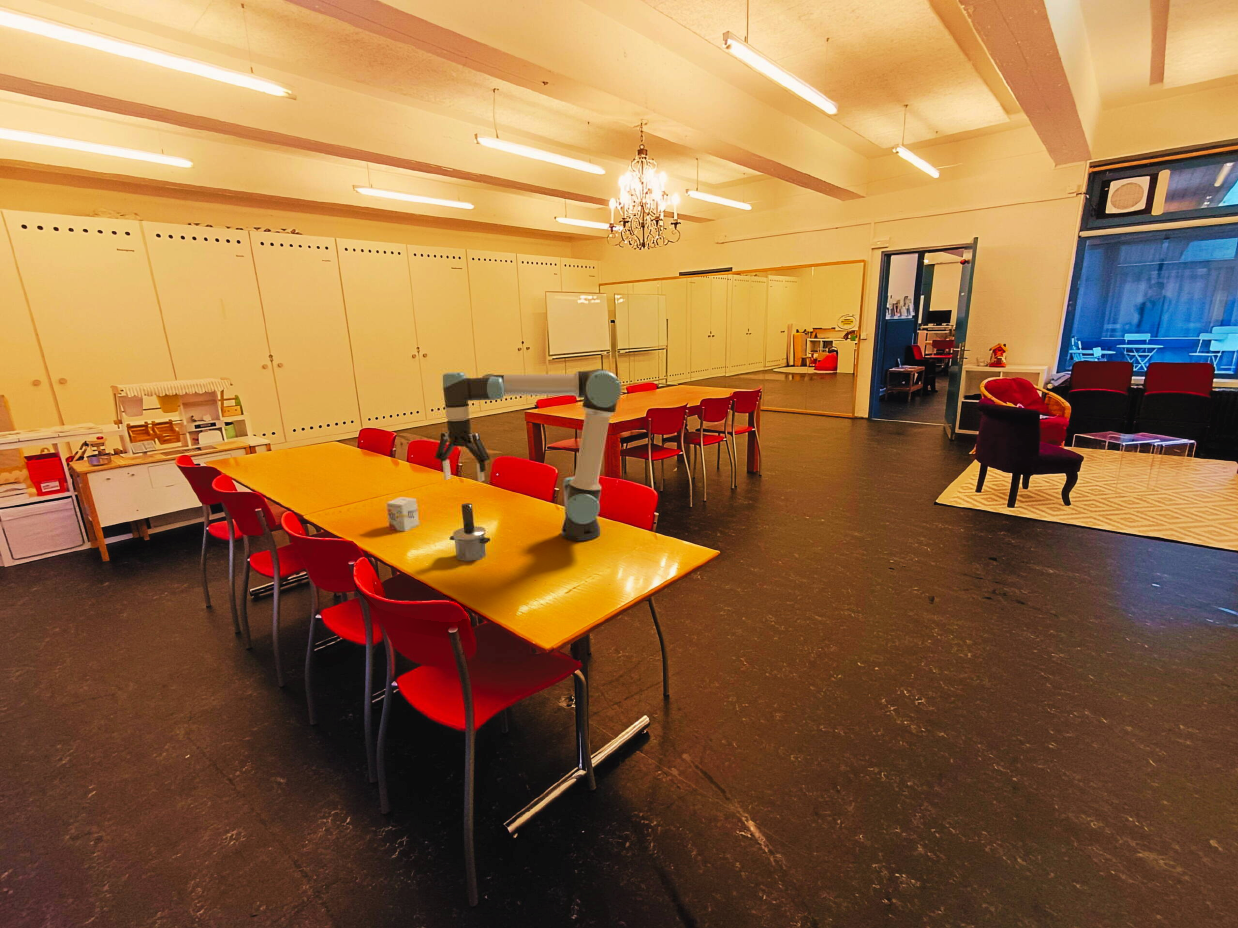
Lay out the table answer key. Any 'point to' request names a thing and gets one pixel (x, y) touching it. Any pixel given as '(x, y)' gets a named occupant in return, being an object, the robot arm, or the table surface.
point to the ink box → (402, 514)
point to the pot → (470, 549)
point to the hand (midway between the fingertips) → (464, 480)
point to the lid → (468, 526)
